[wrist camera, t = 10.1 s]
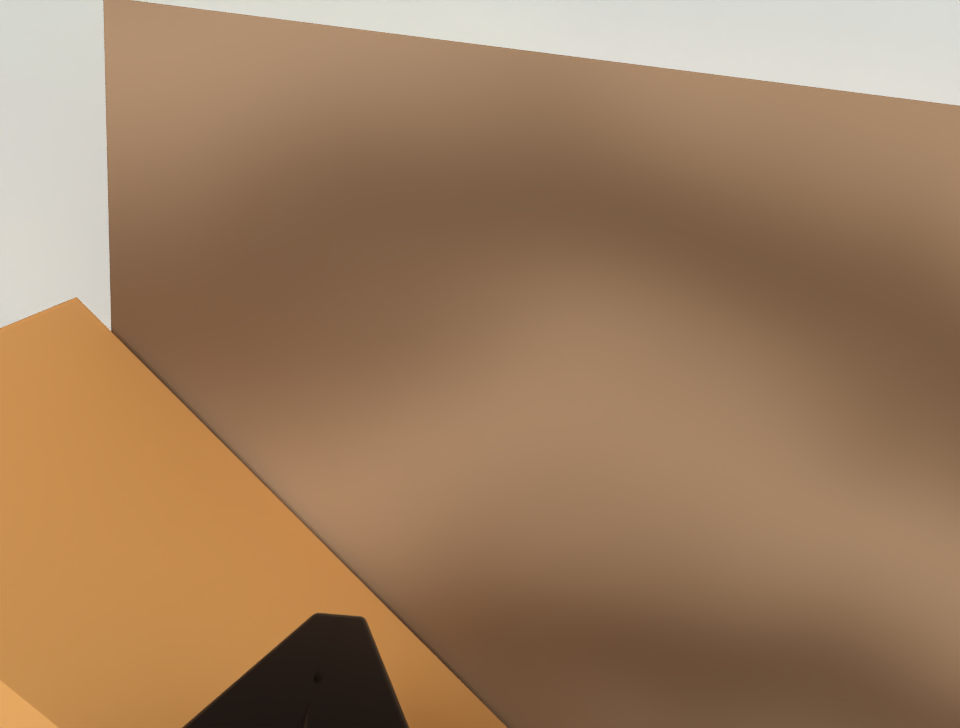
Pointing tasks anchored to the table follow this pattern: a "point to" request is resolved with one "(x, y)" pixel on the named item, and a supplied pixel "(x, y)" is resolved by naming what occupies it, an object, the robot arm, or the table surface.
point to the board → (567, 355)
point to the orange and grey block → (153, 551)
